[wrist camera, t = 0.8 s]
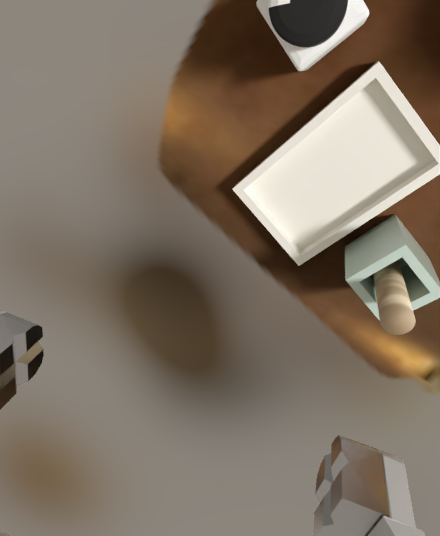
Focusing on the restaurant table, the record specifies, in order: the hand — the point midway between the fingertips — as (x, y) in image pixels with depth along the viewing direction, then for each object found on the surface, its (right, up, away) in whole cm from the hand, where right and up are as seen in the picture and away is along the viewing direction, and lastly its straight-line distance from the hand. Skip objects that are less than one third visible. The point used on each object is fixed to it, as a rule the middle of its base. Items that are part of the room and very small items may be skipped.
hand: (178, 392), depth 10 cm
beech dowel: (+21, +5, +38) cm, 43 cm away
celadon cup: (+22, +5, +38) cm, 44 cm away
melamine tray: (+15, +15, +36) cm, 41 cm away
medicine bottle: (+11, +29, +29) cm, 43 cm away
